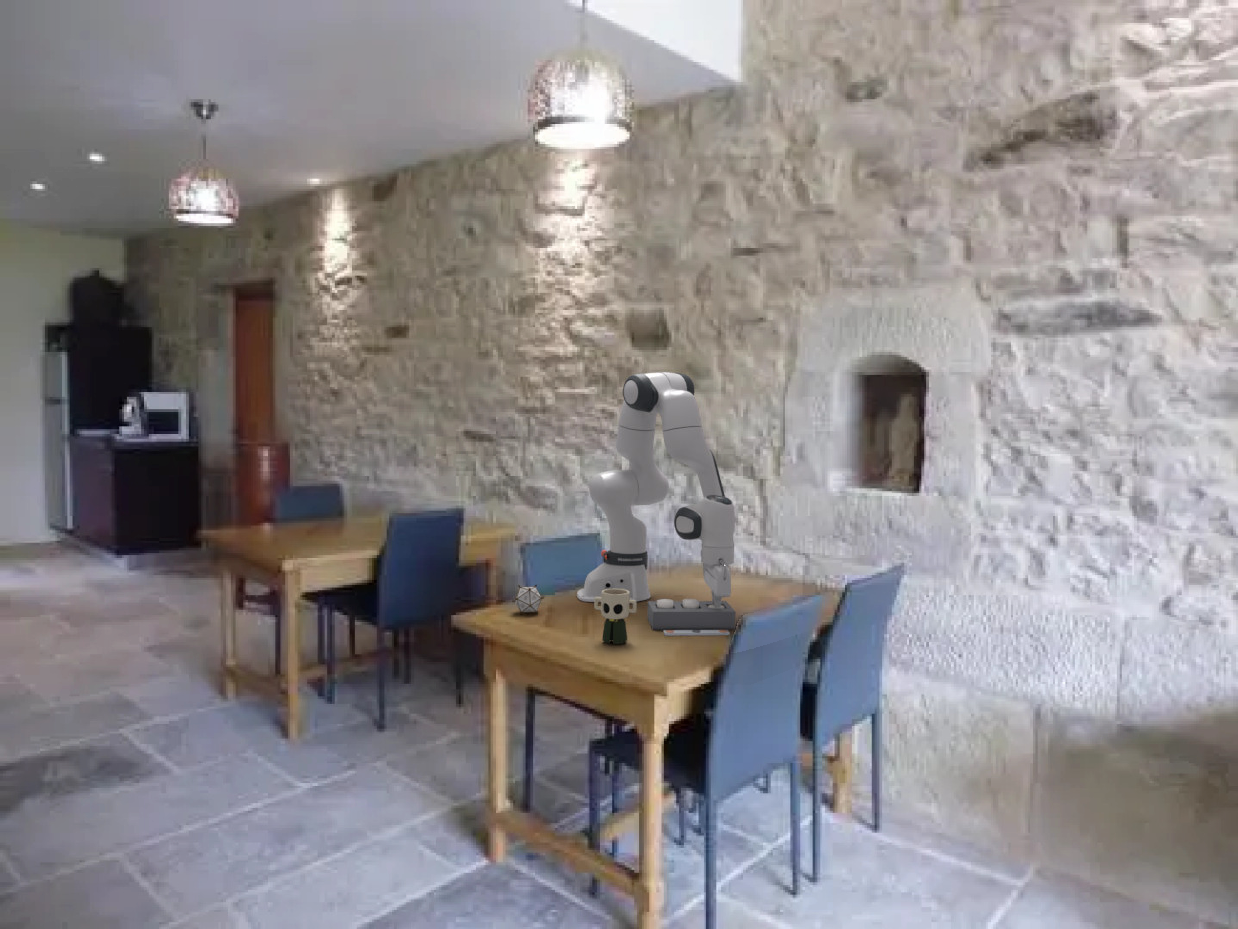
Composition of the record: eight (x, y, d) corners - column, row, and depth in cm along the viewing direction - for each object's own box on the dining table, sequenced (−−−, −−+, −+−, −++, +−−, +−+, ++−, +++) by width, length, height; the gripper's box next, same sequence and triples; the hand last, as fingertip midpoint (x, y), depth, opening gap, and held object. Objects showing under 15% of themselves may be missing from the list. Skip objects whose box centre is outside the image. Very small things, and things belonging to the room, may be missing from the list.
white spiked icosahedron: (520, 626, 252) (500, 597, 253) (542, 611, 257) (523, 582, 258) (533, 617, 245) (512, 587, 246) (555, 602, 250) (535, 572, 251)
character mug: (589, 644, 222) (590, 592, 221) (597, 637, 229) (598, 586, 228) (632, 648, 219) (633, 596, 218) (639, 640, 226) (640, 590, 225)
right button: (709, 619, 241) (709, 608, 240) (706, 615, 245) (706, 604, 245) (725, 619, 241) (725, 608, 241) (722, 615, 245) (722, 604, 245)
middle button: (683, 613, 240) (684, 602, 240) (681, 609, 244) (681, 599, 244) (700, 613, 240) (700, 602, 240) (697, 609, 245) (697, 598, 244)
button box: (652, 630, 236) (653, 611, 235) (647, 619, 247) (647, 601, 247) (735, 630, 238) (735, 611, 237) (725, 618, 249) (726, 601, 249)
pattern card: (664, 635, 231) (664, 632, 231) (663, 632, 234) (663, 629, 234) (729, 635, 232) (729, 632, 232) (727, 632, 235) (727, 629, 235)
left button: (658, 613, 239) (658, 602, 239) (655, 609, 244) (656, 599, 243) (674, 613, 240) (674, 602, 239) (671, 609, 244) (672, 599, 244)
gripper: (737, 563, 231) (736, 615, 233) (721, 549, 252) (720, 597, 253) (713, 563, 231) (712, 615, 232) (699, 549, 251) (698, 598, 252)
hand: (716, 606), depth 243 cm, fingers closed, pressing on right button
